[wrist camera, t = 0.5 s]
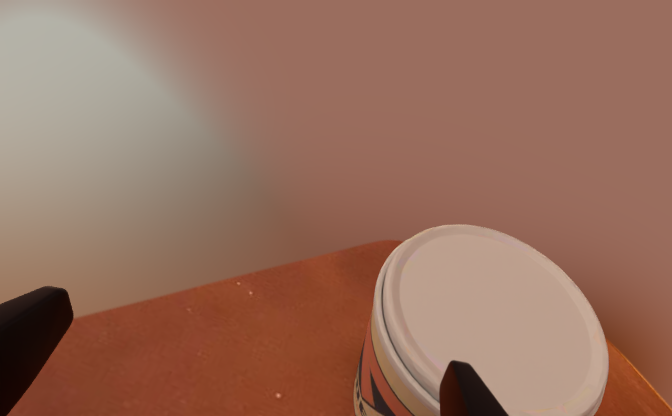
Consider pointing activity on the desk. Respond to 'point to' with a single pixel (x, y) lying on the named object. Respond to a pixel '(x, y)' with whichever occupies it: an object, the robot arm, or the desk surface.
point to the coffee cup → (479, 328)
